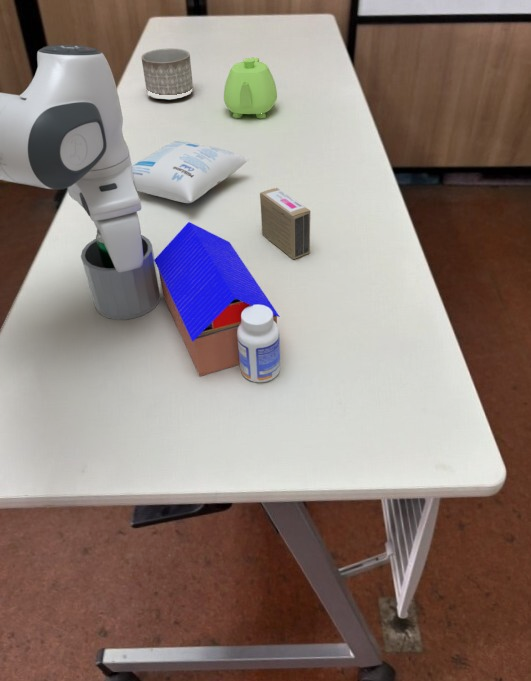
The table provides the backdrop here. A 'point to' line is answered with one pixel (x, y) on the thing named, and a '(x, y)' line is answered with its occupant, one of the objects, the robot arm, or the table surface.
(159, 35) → the table surface
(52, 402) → the table surface
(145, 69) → the planter
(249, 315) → the pill bottle
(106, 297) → the steel cup
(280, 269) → the table surface
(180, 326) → the house
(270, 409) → the table surface
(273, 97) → the teapot
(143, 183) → the pouch
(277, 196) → the ink box
